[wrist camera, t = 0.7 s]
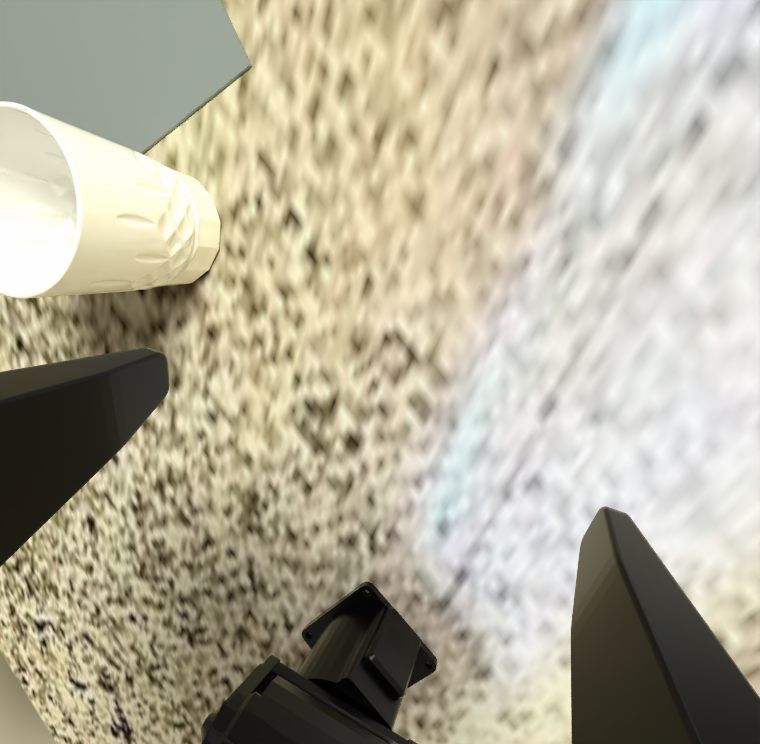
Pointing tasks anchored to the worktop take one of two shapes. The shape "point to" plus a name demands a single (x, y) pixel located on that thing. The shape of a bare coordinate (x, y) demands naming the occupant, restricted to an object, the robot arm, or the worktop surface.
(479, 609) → the worktop surface
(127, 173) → the white cup
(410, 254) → the worktop surface
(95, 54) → the mat
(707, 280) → the worktop surface
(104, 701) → the worktop surface
